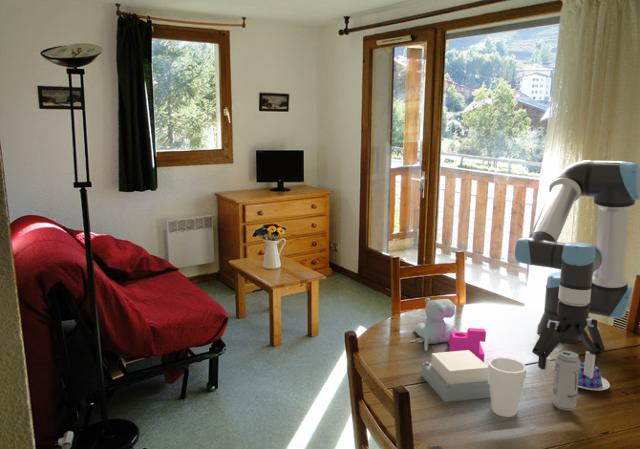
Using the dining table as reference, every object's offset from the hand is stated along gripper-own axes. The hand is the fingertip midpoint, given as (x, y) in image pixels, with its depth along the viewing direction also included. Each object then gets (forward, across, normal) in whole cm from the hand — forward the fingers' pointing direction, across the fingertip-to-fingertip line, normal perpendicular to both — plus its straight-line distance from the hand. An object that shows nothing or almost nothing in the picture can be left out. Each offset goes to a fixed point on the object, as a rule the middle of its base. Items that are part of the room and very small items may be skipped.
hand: (566, 378), depth 139 cm
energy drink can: (+8, 0, 0) cm, 8 cm away
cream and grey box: (+8, +23, -16) cm, 29 cm away
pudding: (+8, -16, -11) cm, 22 cm away
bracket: (+8, +9, -38) cm, 40 cm away
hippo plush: (+8, +16, -50) cm, 53 cm away
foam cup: (+9, +17, -1) cm, 19 cm away
